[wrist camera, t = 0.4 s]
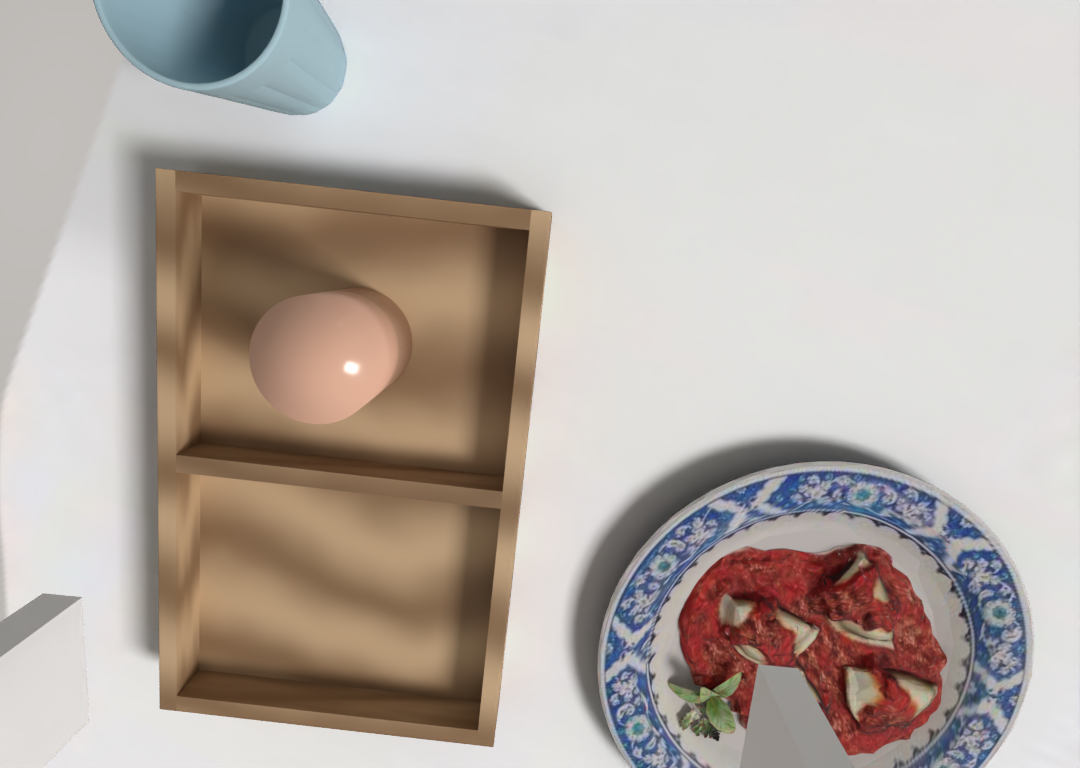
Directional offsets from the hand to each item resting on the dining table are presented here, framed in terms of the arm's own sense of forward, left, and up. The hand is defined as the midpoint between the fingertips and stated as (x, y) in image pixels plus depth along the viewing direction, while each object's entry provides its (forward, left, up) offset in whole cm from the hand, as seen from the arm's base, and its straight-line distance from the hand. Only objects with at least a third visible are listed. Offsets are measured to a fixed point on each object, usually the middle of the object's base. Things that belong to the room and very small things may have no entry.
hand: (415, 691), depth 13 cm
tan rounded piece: (-3, -9, -25) cm, 27 cm away
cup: (-17, -13, -26) cm, 34 cm away
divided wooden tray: (+5, -9, -26) cm, 28 cm away
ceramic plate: (+14, +20, -26) cm, 36 cm away
